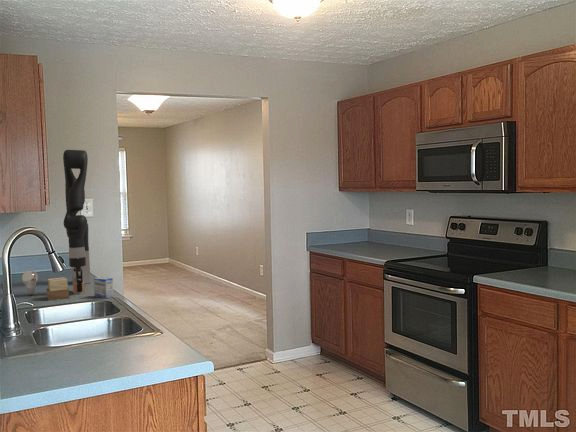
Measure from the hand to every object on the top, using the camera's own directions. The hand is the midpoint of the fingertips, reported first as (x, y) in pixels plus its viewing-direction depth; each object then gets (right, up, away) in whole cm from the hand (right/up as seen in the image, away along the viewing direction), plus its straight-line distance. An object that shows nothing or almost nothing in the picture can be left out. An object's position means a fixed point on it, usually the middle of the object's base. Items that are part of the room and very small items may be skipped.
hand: (79, 290), depth 268 cm
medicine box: (+16, -1, -12) cm, 20 cm away
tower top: (-5, +2, -12) cm, 13 cm away
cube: (0, -1, 0) cm, 1 cm away
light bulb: (-22, -2, -3) cm, 22 cm away
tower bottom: (-5, -2, -12) cm, 13 cm away
